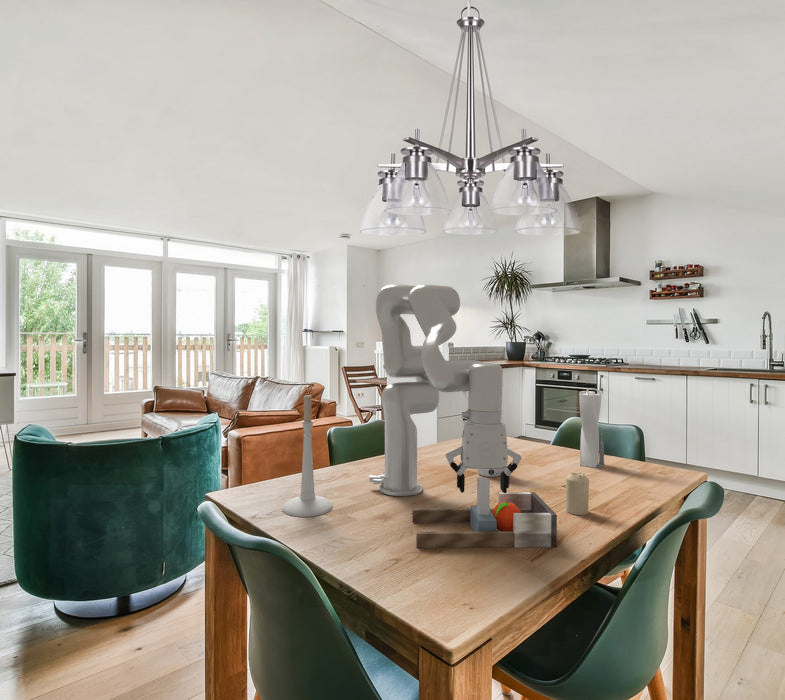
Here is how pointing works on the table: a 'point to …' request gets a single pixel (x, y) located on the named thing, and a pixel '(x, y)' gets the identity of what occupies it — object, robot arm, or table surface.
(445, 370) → the robot arm
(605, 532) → the table surface
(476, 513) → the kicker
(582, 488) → the candle
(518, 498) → the frame
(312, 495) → the candlestick
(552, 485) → the table surface
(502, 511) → the clementine
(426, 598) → the table surface
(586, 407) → the skyscraper
